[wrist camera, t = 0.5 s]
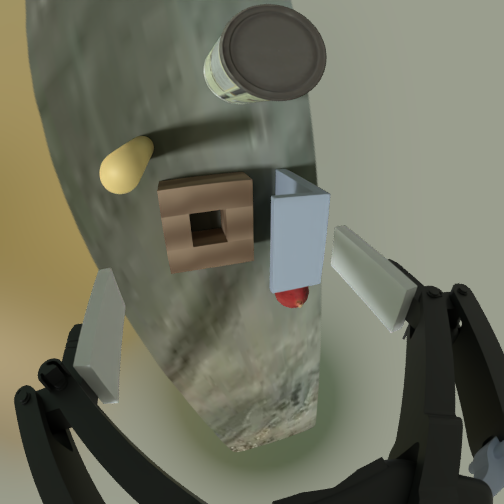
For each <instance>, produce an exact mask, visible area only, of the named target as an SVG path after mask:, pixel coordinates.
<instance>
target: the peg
mask: <svg viewBox="0 0 504 504" xmlns="http://www.w3.org/2000/svg"><path fill="white" fill-rule="evenodd" d="M153 151H154V145H153V142H152V141H151V139H149V138H148V137H146V136H138V137H136V138H134V139H132V140H131V141H129V142H128V143H126V144H124V145H123V146H121V147H120V148H118V149H117V150H115V151H114V152H112V153H111V154H110V155H108V156H107V157H106V158H105V159H104V161H103V162H102V164H101V167H100V179H101V182H102V184H103V185H104V187H105V188H106V189H107V190H109V191H110V192H112V193H115V194H124V193H128V192H130V191H131V190H133V189H134V188H135V187H136V186H137V185H138V183H139V181H140V179H141V177H142V175H143V172H144V170H145V168H146V166H147V164H148V162H149V160H150V158H151V156H152V154H153Z"/></svg>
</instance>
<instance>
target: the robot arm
mask: <svg viewBox="0 0 504 504" xmlns="http://www.w3.org/2000/svg"><path fill="white" fill-rule="evenodd" d="M331 266H332V267H333V268H334V269H335V270H336V271H337V272H338V273H339V274H340V276H341V277H342V278H343V279H344V280H345V281H346V282H347V283H348V284H349V286H350V287H352V289H353V290H354V291H355V292H356V293H357V294H358V296H359V297H360V298H361V299H362V300H363V301H364V302H365V304H366V305H367V306H368V307H369V308H370V309H371V310H372V312H373V313H374V314H375V315H376V316H377V317H378V318H379V320H380V321H381V322H382V323H383V324H384V325H385V326H386V328H387V329H388V330H389V331H390V332H391V333H392V332H394V331H396V330H398V329H401V328H402V326H403V324H404V321H405V320H406V321H407V322H408V323H409V325H408V327H407V329H406V332H405V334H404V336H403V339H405V337H406V336H407V349H406V367H405V379H404V390H403V398H402V407H401V414H400V420H399V426H398V432H397V437H396V441H395V444H394V446H393V448H392V450H391V452H390V454H389V457H388V460H384V459H383V458H382V457H381V458H379V459H377V460H375V461H373V462H372V463H370V464H368V465H366V466H364V467H362V468H360V469H358V470H357V471H356V472H354V473H353V474H352V475H350V476H349V477H348V478H347V479H345V480H344V481H342V482H341V483H340V484H338V485H337V486H336V487H334V488H330V489H324V490H317V491H310V492H303V493H299V494H296V495H293V496H290V497H287V498H283V499H280V500H277V501H273V502H272V504H493V497H494V496H495V495H496V494H497V493H498V492H499V491H500V490H501V489H502V488H503V487H504V354H503V351H502V349H501V347H500V344H499V342H498V340H497V338H496V336H495V334H494V332H493V330H492V328H491V326H490V324H489V322H488V320H487V318H486V316H485V314H484V312H483V310H482V309H481V307H480V305H479V303H478V301H477V300H476V298H475V296H474V294H473V293H472V291H471V290H470V288H468V287H467V286H466V285H464V284H459V283H458V284H455V285H453V288H452V290H451V292H444V293H443V292H442V291H441V290H440V289H438V288H436V287H434V286H423V285H422V284H421V283H420V282H419V281H418V280H417V279H416V278H415V277H413V276H412V275H411V274H410V273H408V271H406V270H405V269H403V267H402V266H400V265H399V264H398V263H397V262H394V261H393V260H390V259H386V258H385V257H384V256H383V255H381V254H380V253H379V252H378V251H377V250H375V249H374V248H373V247H372V246H370V245H369V244H368V243H367V242H366V241H364V240H363V239H362V238H361V237H359V236H358V235H357V234H356V233H354V232H353V231H352V230H351V229H349V228H348V227H347V226H345V225H344V226H338V227H335V231H334V241H333V251H332V260H331ZM125 308H126V306H125V303H124V301H123V299H122V296H121V294H120V291H119V288H118V286H117V283H116V280H115V278H114V275H113V272H112V269H111V268H107V269H102V270H99V271H98V274H97V277H96V280H95V283H94V286H93V289H92V293H91V296H90V299H89V303H88V306H87V310H86V313H85V317H84V321H83V324H76V325H74V327H73V328H72V329H71V331H70V332H69V336H68V339H67V343H66V347H65V348H66V349H65V351H64V355H63V359H62V362H61V361H60V360H59V359H55V358H54V359H49V360H47V361H45V362H44V363H43V364H42V365H41V367H40V369H39V371H38V379H39V381H40V382H41V383H42V384H43V385H44V386H45V388H43V389H41V390H38V391H35V390H34V389H33V388H32V387H31V386H28V385H26V386H23V387H21V388H20V389H19V390H18V391H17V392H16V395H15V397H14V404H15V410H16V415H17V420H18V425H19V430H20V434H21V439H22V443H23V447H24V450H25V454H26V457H27V461H28V463H29V467H30V470H31V473H32V476H33V479H34V482H35V484H36V487H37V489H38V492H39V495H40V497H41V499H42V502H43V504H105V502H104V501H103V499H102V497H101V495H100V494H99V492H98V490H97V489H96V486H95V485H94V483H93V481H92V479H91V477H90V475H89V473H88V471H87V469H86V467H85V465H84V463H83V461H82V458H81V456H80V454H79V452H78V450H77V447H76V445H75V442H74V440H73V438H72V435H71V432H70V430H69V428H71V427H72V428H73V429H74V430H75V432H76V433H77V435H78V436H79V437H80V439H81V440H82V441H83V443H84V444H85V445H86V447H87V448H88V449H89V451H90V452H91V453H92V454H93V455H94V457H95V458H96V459H97V460H98V461H99V463H100V464H101V465H102V466H103V467H104V468H105V469H106V470H107V472H108V473H109V474H110V475H111V476H112V477H113V478H114V479H115V481H116V482H117V483H118V484H119V485H120V486H121V487H122V488H123V489H124V490H125V491H126V492H127V493H128V494H129V495H130V496H131V497H132V498H133V499H135V500H136V501H137V502H138V503H139V504H208V503H206V502H205V501H203V500H202V499H200V498H199V497H198V496H196V495H195V494H193V493H192V492H190V491H189V490H188V489H186V488H185V487H184V486H182V485H181V484H180V483H178V482H177V481H175V479H173V478H172V477H171V476H169V475H168V474H167V473H166V472H165V471H163V470H162V469H161V468H160V467H159V466H157V465H156V464H155V463H154V462H153V461H152V460H150V459H149V458H148V457H147V456H146V455H145V454H144V453H143V452H142V451H141V450H140V449H138V447H136V446H135V445H134V444H133V443H132V442H131V441H130V440H129V439H128V438H127V437H126V436H125V435H124V434H123V433H122V432H121V431H120V430H119V429H118V427H117V426H116V425H115V424H114V423H113V422H112V421H111V420H110V419H109V418H108V416H107V415H106V414H105V413H104V412H103V411H102V410H101V409H100V407H99V406H98V405H97V401H98V398H99V399H100V400H101V401H102V402H103V404H106V403H119V374H120V358H121V345H122V334H123V324H124V316H125ZM460 320H461V321H462V326H461V327H460V325H459V322H460ZM455 384H456V388H457V391H458V396H459V400H460V403H461V408H462V412H463V417H464V422H465V428H466V433H467V438H468V443H469V447H470V450H471V453H472V456H473V458H474V459H473V462H471V464H470V465H469V472H470V473H471V474H474V478H472V477H467V476H462V475H459V468H460V459H461V448H462V432H463V423H462V419H461V418H460V417H456V415H455Z"/></svg>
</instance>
